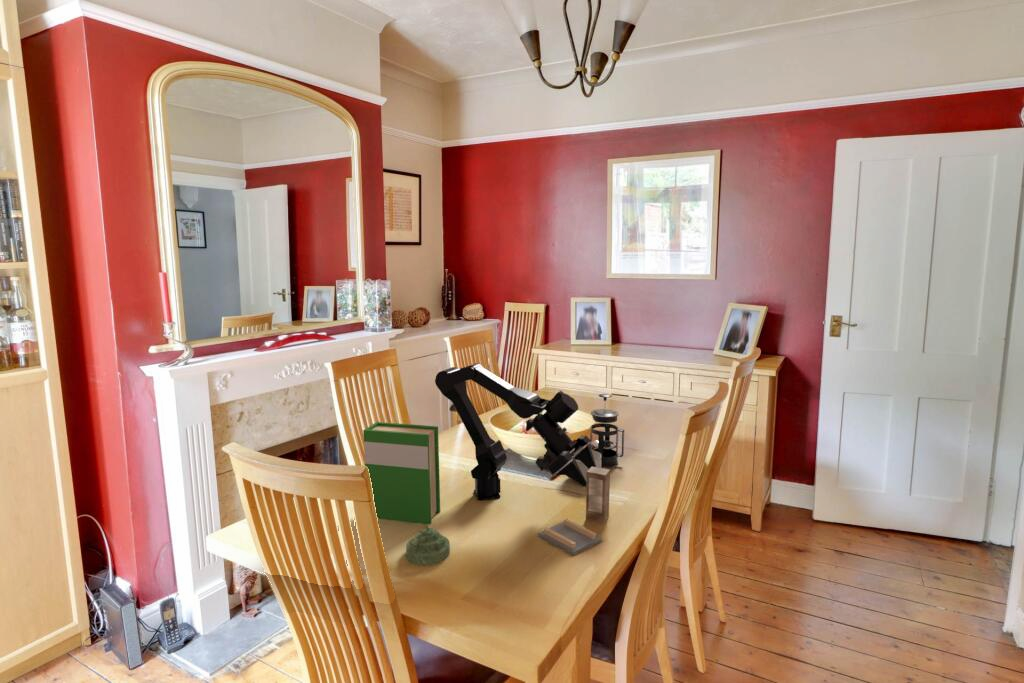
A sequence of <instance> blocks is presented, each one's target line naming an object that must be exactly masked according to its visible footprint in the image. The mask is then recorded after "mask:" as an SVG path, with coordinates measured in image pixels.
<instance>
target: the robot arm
mask: <svg viewBox="0 0 1024 683" xmlns="http://www.w3.org/2000/svg"><path fill="white" fill-rule="evenodd" d="M467 381H472V382H474V383H476V384H477V385H479V386H480V387H482V388H483V389H485V390H486V391H488V392H490V393H492V394H493V395H495V396H496V397H498V398H499V399H501V400H503V401H504V402H505V403H506V404H507V406H508V407H509V408H510V410H511V411H512V413H514V414H515V415H517V416H518V417H519V418H521V419H524V420H525V419H526V421H525V423H526V425H525V431H526V432H530V430H532V429H534V430H535V431H536V432H537V434H538V435H539V437H540V438H541V439H542V440H543V441H544V442H545V444H543V447H544V448H545V450H546V451H545V453H544V454H543V455H541V456H539V457H537V459H536V460H535V464H536V465H537V467H538V469H539V470H540V471H541V472H542V471H546V472H548V473H549V474H551V475H552V476H553V475H555V476H565V477H568V478H570V479H571V480H573V481H574V482H576V483H578V484H579V485H581V486H582V487H586V485H587V483H586V481H585V478H584V476H583V474H582V472H581V470H580V468H579V466H578V464H577V462H576V460H580V461H581V462H582V463H583V464H584V465H585V466H586V467H587V468H588V469H590V468H591V467H596V464H595V461H594V457H593V454H592V450H593V449H592V450H591V444H590V441H591V440H590V438H589V436H587V435H586V434H581V435H580V436H579V437H578V438H575V439H573V440H572V439H571V437H570V436H569V435H568V433H566V432H567V430H568V429H567V428H566V427H563V428H562V427H561V425H559V423H560V424H563V423H565V422H566V421H567V420H568V419H569V418H571V416H573V414H575V413H576V412H577V411H578V410H579V405H578V402H577V401H576V400H575V398H573V397H572V396H570V395H569V394H567V393H565V392H564V391H562V390H559V391H558V392H557V393H555V394H554V396H553V397H552V398H551V399H547V398H543V397H540V395H539V394H537V393H535V392H532V391H530V390H527V389H523V388H519V387H515V386H513V385H512V384H510V383H509V382H507V381H506V380H504V379H503V378H501V377H499V376H497V375H496V374H494V373H492V372H491V371H490V370H488V369H486V368H485V367H483V365H481V364H480V363H476V362H475V363H472V364H470V365H467V366H464V367H461V368H459V367H457V366H452V367H448V368H447V369H444V370H441V371H439V372H438V373H437V374H436V376H435V379H434V383H435V385H436V387H437V389H438V390H439V391H440V393H441V394H442V395H443V396H444V397H445V398H446V399H448V400H449V401H450V402H451V403H452V404H453V407H454V409H455V411H456V412H457V414H458V416H459V418H460V420H461V422H462V423H463V426H464V428H465V430H466V432H467V433H468V435H469V437H470V439H471V441H472V443H473V445H474V447H475V448H474V449H475V450H474V451H475V452H474V453H475V460H476V462H477V465H476V466H474V467H473V468H472V469H471V470H470V473H471V477H472V479H474V489H473V493H474V495H475V497H476V499H477V500H478V501H483V500H491V499H499V498H501V494H500V493H501V479H500V477H499V473H498V472H500V471H501V469H502V467H504V466H505V465H506V463H507V459H508V458H507V454H506V453H507V450H506V449H505V448H504V447H503V444H502V441H501V440H500V439H498V440H497V441H495V440H494V439H492V438H491V436H490V435H489V432H488V430H487V428H486V427H485V426H484V423H483V421H482V419H481V417H480V416H479V414H478V412H477V410H476V409H475V406H474V405H473V402H472V400H471V399H470V397H469V395H468V391H467V387H468V386H467ZM542 412H544V413H542ZM534 415H535V416H534ZM533 416H534V418H531V417H533ZM574 455H575V457H574V458H573V460H572V461H571V459H572V456H574ZM575 459H576V460H575Z"/></svg>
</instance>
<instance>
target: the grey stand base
mask: <svg viewBox="0 0 1024 683" xmlns="http://www.w3.org/2000/svg"><path fill="white" fill-rule="evenodd" d="M537 536H538V537H539V538H541V539H543V540H544V539H545V540H544V541H545V542H548V543H549V544H551V545H554V546H555V547H557V548H559V549H561V550H563V551H564V552H566V553H568V554H569V555H571V556H575V555H577V554H579V553H580V552H583V551H585V550H586V549H589V548H590V547H593V546H595V545H597V544H599V543H601V542H602V541H603V538H602V537H601V536H598V535H597V532H594V531H592V530H590V529H588V528H587V527H584V526H583V525H580V524H578V523H576V522H575V521H572V520H570V519H568V518H564V520H563V521H562V522H560V523H557V524H555V525H553V526H550V527H544V528H543V530H541V531H539V532H538V533H537Z"/></svg>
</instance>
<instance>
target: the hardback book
mask: <svg viewBox="0 0 1024 683" xmlns="http://www.w3.org/2000/svg"><path fill="white" fill-rule="evenodd" d="M362 432H363V450H364V452H363V453H364V467H365V466H367V467H368V469H369V473H370V478H371V482H372V488H373V494H374V502H375V507H376V513H377V517H378V520H384V521H385V520H386V521H393V520H395V522H405V523H410V522H411V523H412V524H419V523H420V524H421V525H427V524H430V525H431V524H432V517H433V516H434V515H435V514H438V513H439V514H441V490H440V489H441V486H440V483H441V482H440V455H439V453H440V449H439V448H440V447H439V444H440V443H439V426H436V425H424V424H423V425H421V424H409V423H397V422H395V423H394V422H384V421H383V422H382V421H381V422H380V421H376V422H374V423H373V424H371V425H369V426H368V427H366V428H364V429H363V431H362Z"/></svg>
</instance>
